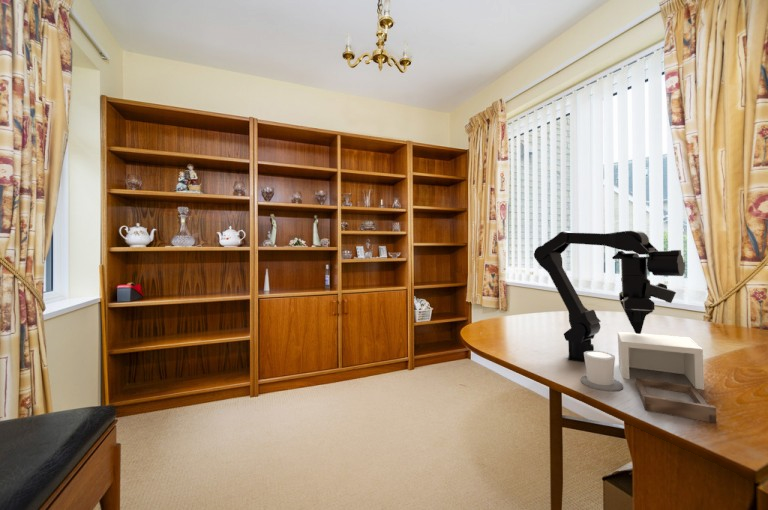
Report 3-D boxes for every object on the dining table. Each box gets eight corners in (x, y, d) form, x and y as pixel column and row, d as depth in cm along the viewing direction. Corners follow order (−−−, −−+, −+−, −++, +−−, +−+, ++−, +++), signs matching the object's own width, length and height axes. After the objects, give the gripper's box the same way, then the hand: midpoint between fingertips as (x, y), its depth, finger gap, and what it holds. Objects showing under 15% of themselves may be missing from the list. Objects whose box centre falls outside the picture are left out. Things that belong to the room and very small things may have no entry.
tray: (645, 410, 69) (644, 396, 69) (635, 383, 82) (635, 372, 82) (716, 423, 63) (715, 408, 63) (693, 392, 77) (693, 379, 77)
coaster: (580, 387, 82) (580, 384, 82) (581, 375, 89) (581, 373, 89) (624, 394, 77) (624, 391, 77) (621, 381, 85) (621, 378, 85)
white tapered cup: (604, 388, 79) (603, 360, 79) (578, 378, 86) (577, 352, 86) (622, 383, 82) (621, 355, 82) (595, 374, 88) (594, 349, 88)
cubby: (622, 378, 86) (621, 341, 86) (618, 364, 97) (617, 331, 97) (704, 389, 78) (702, 349, 78) (690, 373, 88) (689, 337, 88)
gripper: (680, 277, 78) (682, 341, 78) (665, 272, 94) (666, 325, 94) (623, 277, 84) (625, 336, 84) (618, 272, 100) (620, 322, 100)
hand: (636, 329), depth 90 cm, fingers open, 9 cm apart
